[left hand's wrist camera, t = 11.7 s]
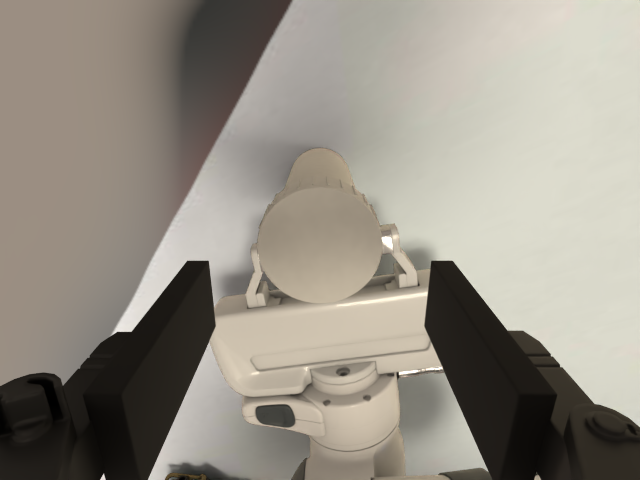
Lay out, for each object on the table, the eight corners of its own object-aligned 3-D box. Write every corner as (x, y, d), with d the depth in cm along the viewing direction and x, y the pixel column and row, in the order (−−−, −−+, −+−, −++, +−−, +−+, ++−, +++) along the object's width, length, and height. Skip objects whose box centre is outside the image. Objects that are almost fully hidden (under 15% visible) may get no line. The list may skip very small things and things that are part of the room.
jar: (331, 136, 32) (341, 173, 18) (359, 188, 34) (390, 263, 19) (279, 166, 33) (246, 226, 18) (309, 216, 35) (301, 308, 20)
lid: (343, 152, 19) (346, 160, 17) (396, 251, 21) (405, 270, 19) (240, 211, 20) (230, 225, 18) (300, 300, 22) (297, 323, 20)
